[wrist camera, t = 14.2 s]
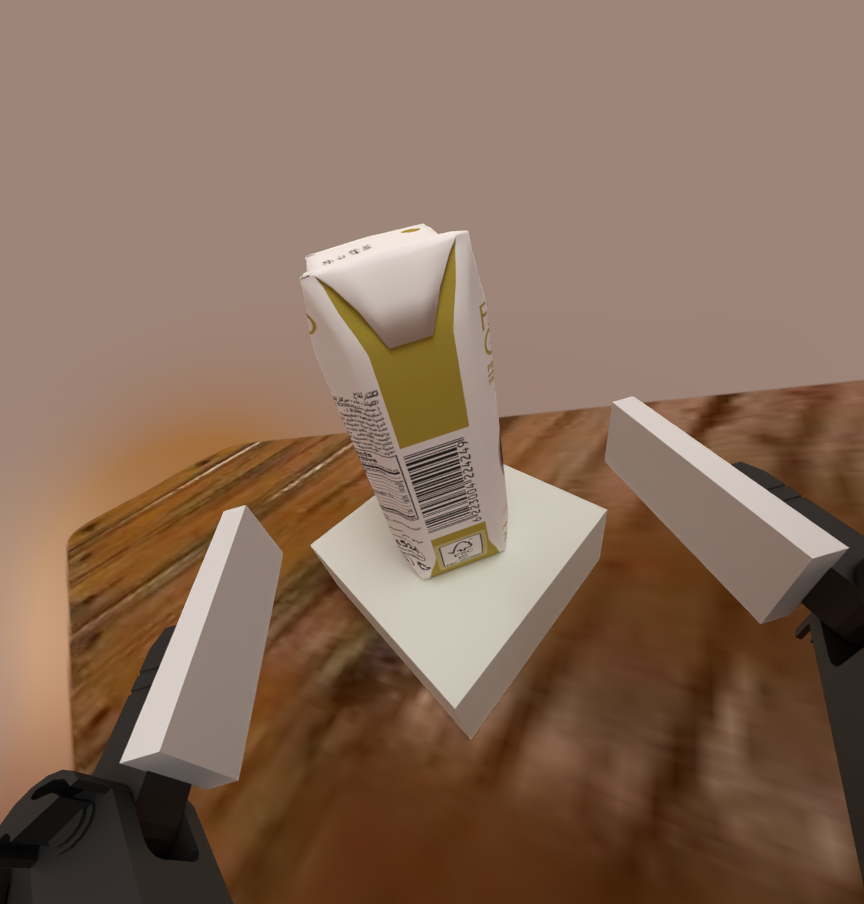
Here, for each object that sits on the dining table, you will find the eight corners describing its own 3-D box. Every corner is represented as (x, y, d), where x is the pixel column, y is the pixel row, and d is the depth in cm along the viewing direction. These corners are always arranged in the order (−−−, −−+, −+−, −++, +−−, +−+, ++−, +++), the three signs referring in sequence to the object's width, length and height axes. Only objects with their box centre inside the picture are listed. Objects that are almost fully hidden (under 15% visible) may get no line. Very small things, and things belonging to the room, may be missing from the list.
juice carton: (415, 597, 22) (274, 285, 11) (392, 506, 29) (291, 255, 18) (523, 557, 23) (497, 222, 12) (476, 477, 30) (431, 217, 18)
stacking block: (456, 482, 39) (447, 439, 35) (599, 559, 28) (607, 509, 25) (337, 585, 31) (310, 545, 28) (471, 740, 21) (454, 708, 17)
